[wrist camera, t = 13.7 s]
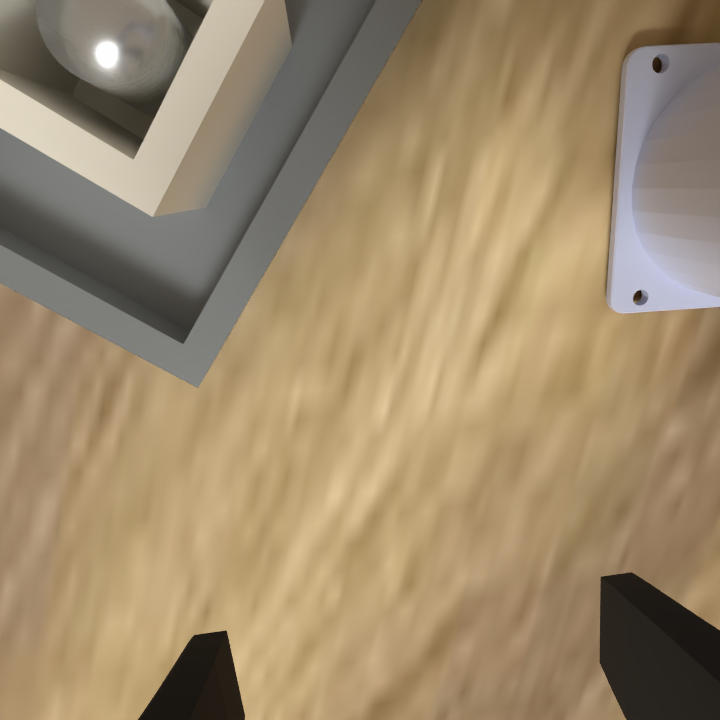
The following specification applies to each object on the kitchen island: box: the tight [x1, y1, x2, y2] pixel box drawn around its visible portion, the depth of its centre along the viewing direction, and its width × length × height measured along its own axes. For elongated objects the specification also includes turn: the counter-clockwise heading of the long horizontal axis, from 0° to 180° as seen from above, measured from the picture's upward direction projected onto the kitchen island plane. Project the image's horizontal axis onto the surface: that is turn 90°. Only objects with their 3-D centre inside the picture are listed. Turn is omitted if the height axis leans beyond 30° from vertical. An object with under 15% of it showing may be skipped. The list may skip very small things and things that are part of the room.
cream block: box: [0, 0, 292, 217], centre depth 14 cm, size 5×5×6 cm
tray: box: [0, 0, 422, 388], centre depth 16 cm, size 14×10×2 cm
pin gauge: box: [36, 0, 194, 118], centre depth 14 cm, size 2×2×5 cm
